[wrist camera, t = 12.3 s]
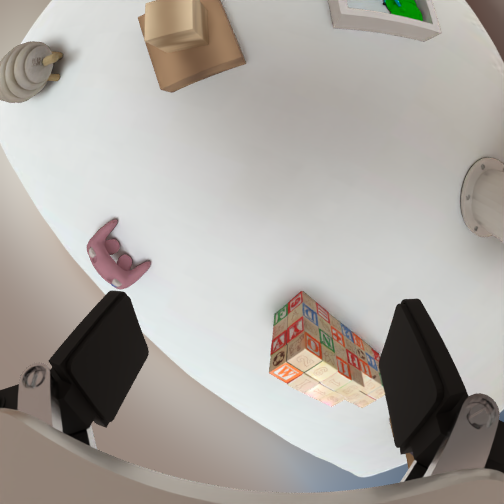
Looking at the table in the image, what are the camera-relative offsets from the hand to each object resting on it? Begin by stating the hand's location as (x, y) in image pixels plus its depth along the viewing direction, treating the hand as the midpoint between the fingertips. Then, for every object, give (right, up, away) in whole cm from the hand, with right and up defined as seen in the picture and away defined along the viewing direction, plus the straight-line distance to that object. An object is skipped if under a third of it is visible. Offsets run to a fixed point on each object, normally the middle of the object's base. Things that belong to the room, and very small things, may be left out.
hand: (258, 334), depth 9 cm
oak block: (-8, +28, +14) cm, 32 cm away
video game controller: (-20, +3, +31) cm, 37 cm away
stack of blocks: (+13, -11, +34) cm, 38 cm away
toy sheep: (-35, +33, +19) cm, 51 cm away
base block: (-7, +30, +17) cm, 35 cm away
